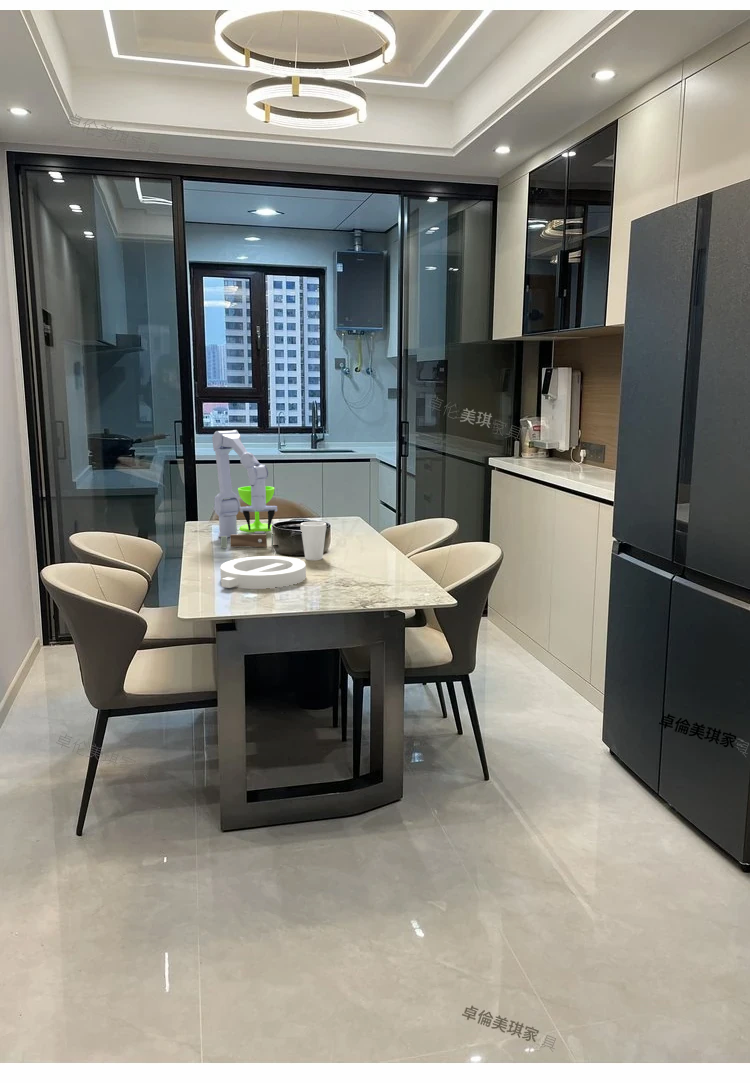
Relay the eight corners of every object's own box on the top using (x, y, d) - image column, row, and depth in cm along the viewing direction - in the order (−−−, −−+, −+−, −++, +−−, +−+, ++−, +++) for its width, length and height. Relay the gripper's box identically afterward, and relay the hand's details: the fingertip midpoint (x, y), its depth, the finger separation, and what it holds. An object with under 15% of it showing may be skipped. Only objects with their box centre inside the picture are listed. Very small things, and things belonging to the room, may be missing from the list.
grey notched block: (254, 541, 323) (253, 529, 322) (264, 541, 324) (263, 529, 323) (255, 545, 315) (254, 533, 314) (265, 545, 316) (265, 533, 315)
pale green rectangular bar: (221, 547, 312) (220, 536, 311) (278, 545, 317) (277, 533, 316) (221, 548, 311) (220, 536, 310) (278, 545, 315) (278, 534, 314)
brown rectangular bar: (231, 546, 313) (230, 534, 312) (266, 545, 314) (266, 534, 313) (230, 547, 310) (229, 535, 309) (266, 547, 311) (266, 535, 310)
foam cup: (296, 557, 294) (295, 523, 291) (317, 554, 299) (317, 520, 297) (310, 562, 287) (309, 527, 284) (331, 559, 292) (331, 524, 289)
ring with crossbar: (221, 592, 248) (220, 577, 247) (220, 571, 275) (220, 557, 274) (310, 587, 253) (310, 573, 253) (301, 567, 280) (300, 554, 279)
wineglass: (283, 527, 354) (282, 487, 350) (259, 533, 340) (258, 491, 337) (255, 524, 362) (254, 485, 358) (231, 529, 349) (230, 489, 345)
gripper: (240, 497, 309) (241, 531, 312) (277, 496, 312) (278, 530, 315) (239, 495, 316) (240, 528, 319) (276, 494, 319) (276, 527, 322)
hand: (259, 529), depth 317 cm, fingers open, 7 cm apart
